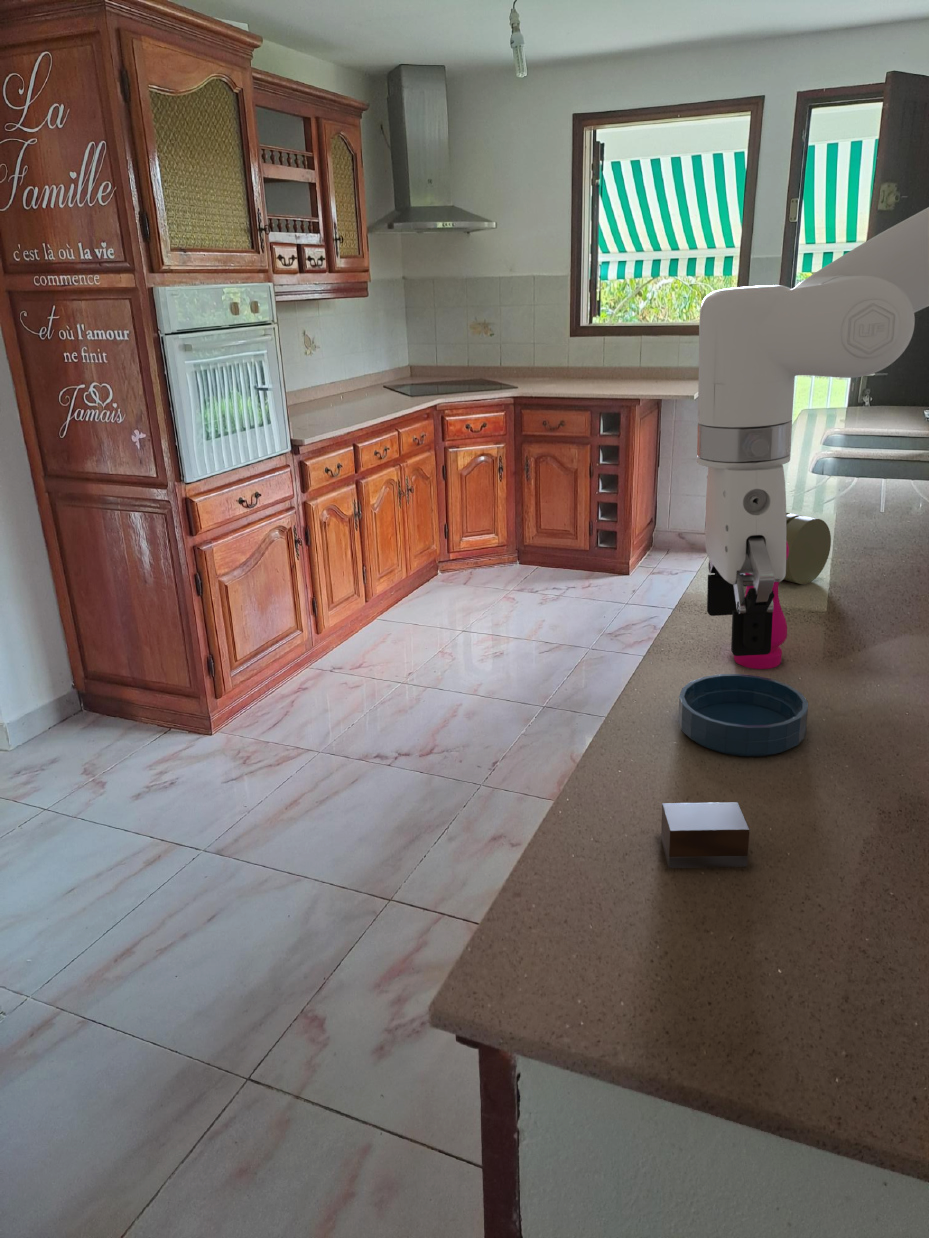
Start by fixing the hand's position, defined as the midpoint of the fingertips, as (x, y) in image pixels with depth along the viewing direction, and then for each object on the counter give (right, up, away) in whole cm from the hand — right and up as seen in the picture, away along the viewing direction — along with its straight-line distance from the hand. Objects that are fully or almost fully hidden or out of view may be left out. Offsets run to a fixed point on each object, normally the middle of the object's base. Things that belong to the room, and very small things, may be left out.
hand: (736, 632), depth 80 cm
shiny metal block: (-3, -21, +2) cm, 21 cm away
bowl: (+8, -12, +24) cm, 28 cm away
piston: (+31, +9, +76) cm, 82 cm away
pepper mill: (+16, -5, +42) cm, 45 cm away
